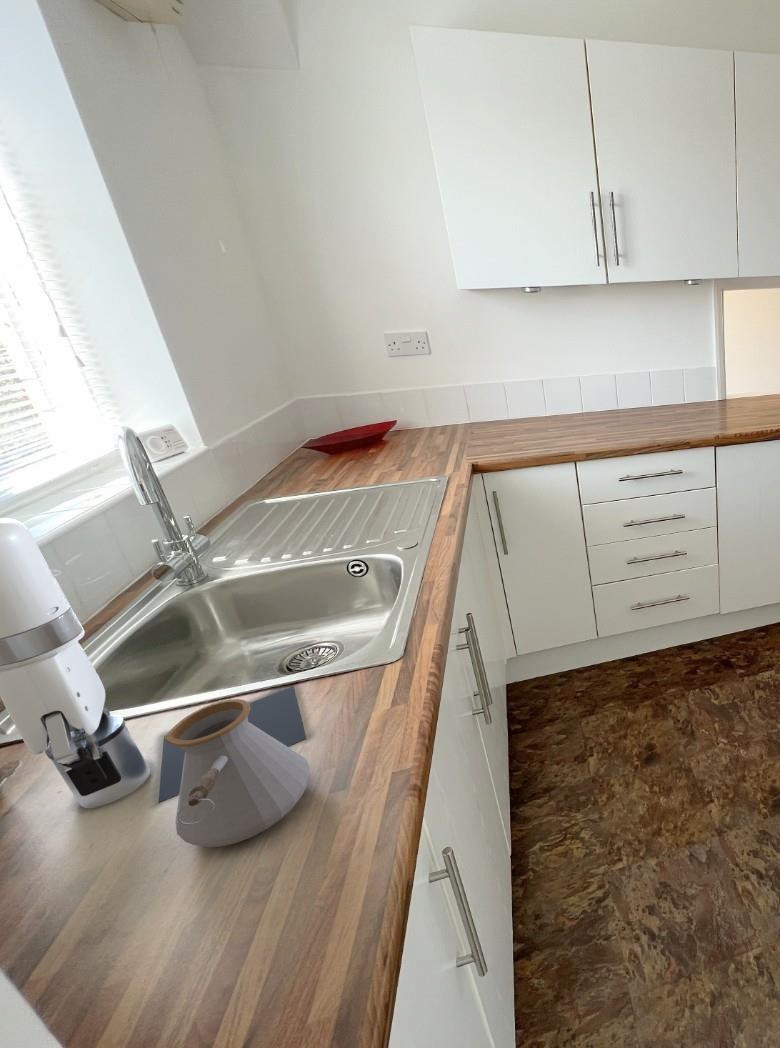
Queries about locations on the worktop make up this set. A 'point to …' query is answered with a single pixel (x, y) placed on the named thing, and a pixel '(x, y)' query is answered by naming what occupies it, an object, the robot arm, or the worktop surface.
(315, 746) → the worktop surface
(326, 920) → the worktop surface
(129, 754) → the canister
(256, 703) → the mat
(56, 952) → the worktop surface
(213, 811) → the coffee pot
